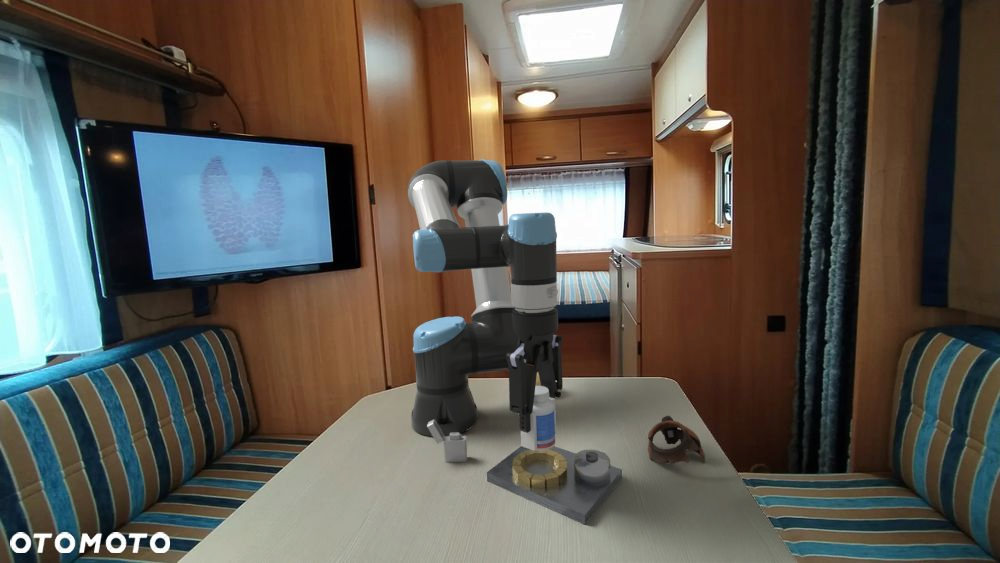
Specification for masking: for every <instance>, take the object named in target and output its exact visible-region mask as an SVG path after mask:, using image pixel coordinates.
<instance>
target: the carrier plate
mask: <svg viewBox="0 0 1000 563" xmlns="http://www.w3.org/2000/svg"><path fill="white" fill-rule="evenodd" d="M622 479H623V468H620V467H616V466H613V465H611V459H610V456H608V454H606V453H604V452H603V451H600V450H596V449H582V450H579V451H577V452H573V451H569V450H567V449H564V448H561V447H558V446H556V445H554V446H553V447H552V448H551V449H549V450H546V451H534V450H531V449H528V448H525V447H522V446H521V445H520V446H519V447H518V448H517V449H515V450H514V451H513V452H511V453H510V454H509V455H507V456H506V457H505V458H503V459H502V460H501V461H499V462H497V464H495V466H493V467H492V468H491V469H489V470H488V471H487V472H486V481H487V482H489V483H492V484H494V485H496V486H498V487H500V488H503V489H505V490H507V491H509V492H512V493H514V494H516V495H517V496H520V497H523V498H524V499H527V500H529V501H531V502H533V503H536V504H538V505H541V506H543V507H545V508H547V509H550V510H551V511H554V512H557V513H558V514H560V515H563V516H564V517H567V518H568V519H569V518H570V519H572V520H574V521H576V522H577V523H578V522H579V523H581V524H583V525H586V524H587V523H588V522H589V521H590V520H591V518H592V516H593V515H594V514H595V513H596V512H597V511H598V509H599V507H601V505H602V504H603V503H604V501H605V500H606V499H607V498H608V497H609V496H610V494H611V493H612V492H613V490H614V489H615V488H616V486H617V485H618V484H619V483H620V482H621V480H622Z"/></svg>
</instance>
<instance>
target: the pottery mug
mask: <svg viewBox="0 0 1000 563" xmlns="http://www.w3.org/2000/svg"><path fill="white" fill-rule="evenodd" d="M660 420H661V422H658V423H657V424H655V425H654V426H653V427H652V428H651V429H650V431H649V432H648V435H647V439H648V447H647V452H648V456H649V459H650V460H651V461H655V462H658V463H662V464H666V465H667V464H669V463H670V464H674V463H675V464H676V463H677V462H685V463H689V459H688V454H687V451H688V452H694V453H696V454H698V455H699V457H700V458H701V462H702V464H706V459H705V458H706V456H705V452H704V449H703V447H702V445H701V441H700V438H699V436H698V435H697V434H696V433H695V432H694V431H693V430H692V429H690V428H689V427H688V426H686V425H684V424H682V423H680V422H679V421H676V420H674V419H673V417H672V416H671V415H665V416H663V417H662V418H661V419H660ZM658 432H661V433H662V435H663V437H664V440H665V443H666V444H667V445H676V444H677V443H678V442H679V444H678V445H676V446H674V447H672V448H666V449H665V448H660V447H658V446H657V445H656V444H655V443H654V442H653V441H654V437H655V435H657V433H658Z"/></svg>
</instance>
